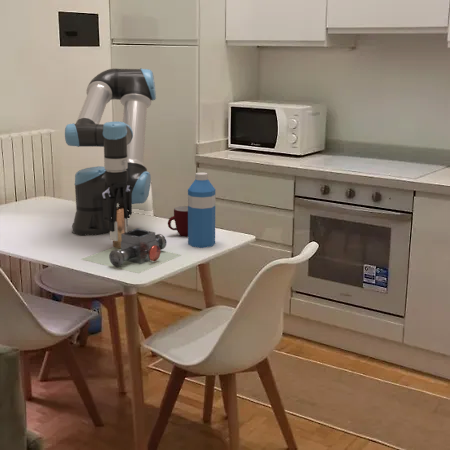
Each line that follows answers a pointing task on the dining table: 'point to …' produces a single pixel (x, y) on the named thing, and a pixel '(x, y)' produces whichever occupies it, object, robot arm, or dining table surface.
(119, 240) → the brown mallet handle
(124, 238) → the metal mallet head
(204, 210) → the water bottle
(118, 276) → the dining table surface
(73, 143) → the robot arm
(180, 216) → the mug
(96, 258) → the mat
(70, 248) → the dining table surface
